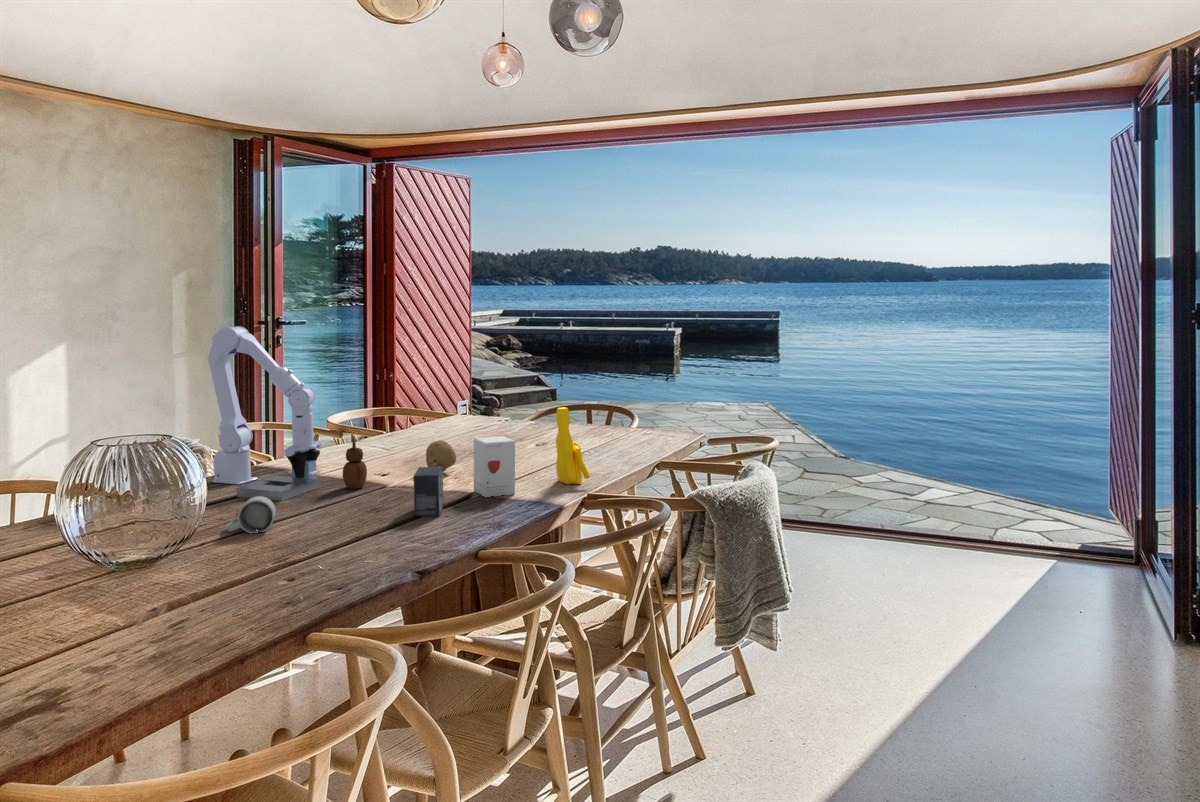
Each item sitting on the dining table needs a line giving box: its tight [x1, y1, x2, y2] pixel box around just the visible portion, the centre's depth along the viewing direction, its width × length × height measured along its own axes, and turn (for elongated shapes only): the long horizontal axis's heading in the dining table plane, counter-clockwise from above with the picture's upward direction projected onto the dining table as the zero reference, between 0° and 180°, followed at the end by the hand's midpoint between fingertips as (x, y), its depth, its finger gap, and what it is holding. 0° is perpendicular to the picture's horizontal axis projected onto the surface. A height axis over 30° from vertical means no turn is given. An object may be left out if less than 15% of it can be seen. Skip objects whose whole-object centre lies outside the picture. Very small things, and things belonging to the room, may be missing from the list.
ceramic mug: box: [225, 496, 276, 534], centre depth 199 cm, size 11×8×8 cm
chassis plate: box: [236, 475, 320, 502], centre depth 237 cm, size 14×16×2 cm
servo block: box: [288, 460, 321, 479], centre depth 250 cm, size 8×4×6 cm, turn 73°
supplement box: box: [473, 435, 516, 498], centre depth 238 cm, size 9×9×15 cm
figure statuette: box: [555, 406, 591, 485], centre depth 251 cm, size 18×8×22 cm, turn 28°
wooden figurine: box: [342, 435, 368, 490], centre depth 243 cm, size 7×6×15 cm
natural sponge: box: [425, 439, 457, 473], centre depth 264 cm, size 9×9×10 cm
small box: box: [413, 466, 445, 518], centre depth 217 cm, size 11×6×10 cm, turn 5°
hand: (304, 476), depth 250 cm, fingers closed on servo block, 4 cm apart
